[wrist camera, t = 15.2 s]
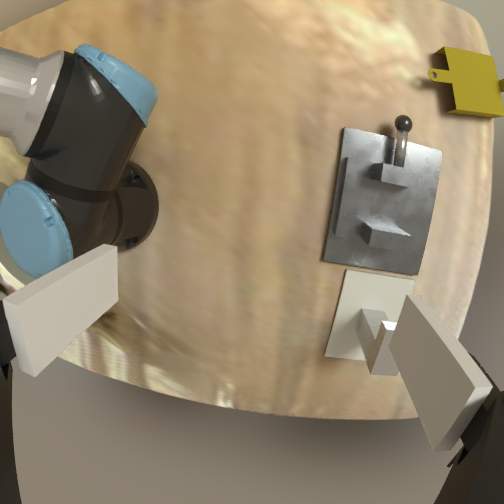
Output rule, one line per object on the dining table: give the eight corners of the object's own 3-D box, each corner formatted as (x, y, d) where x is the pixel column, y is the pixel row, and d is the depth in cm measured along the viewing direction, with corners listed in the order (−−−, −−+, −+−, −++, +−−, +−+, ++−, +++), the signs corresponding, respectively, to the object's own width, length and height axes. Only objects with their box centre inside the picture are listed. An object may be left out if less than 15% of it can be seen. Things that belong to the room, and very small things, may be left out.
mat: (324, 354, 52) (324, 356, 51) (346, 268, 47) (347, 270, 47) (386, 360, 51) (387, 362, 50) (413, 279, 46) (415, 280, 46)
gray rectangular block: (355, 329, 49) (370, 374, 37) (366, 291, 47) (386, 329, 35) (377, 331, 49) (396, 375, 37) (388, 294, 47) (414, 332, 35)
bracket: (425, 20, 29) (502, 38, 27) (408, 37, 36) (479, 50, 34) (447, 121, 33) (521, 130, 31) (425, 127, 40) (495, 132, 38)
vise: (322, 258, 47) (326, 271, 42) (346, 106, 41) (353, 98, 35) (415, 273, 46) (429, 287, 40) (441, 131, 40) (459, 128, 34)
